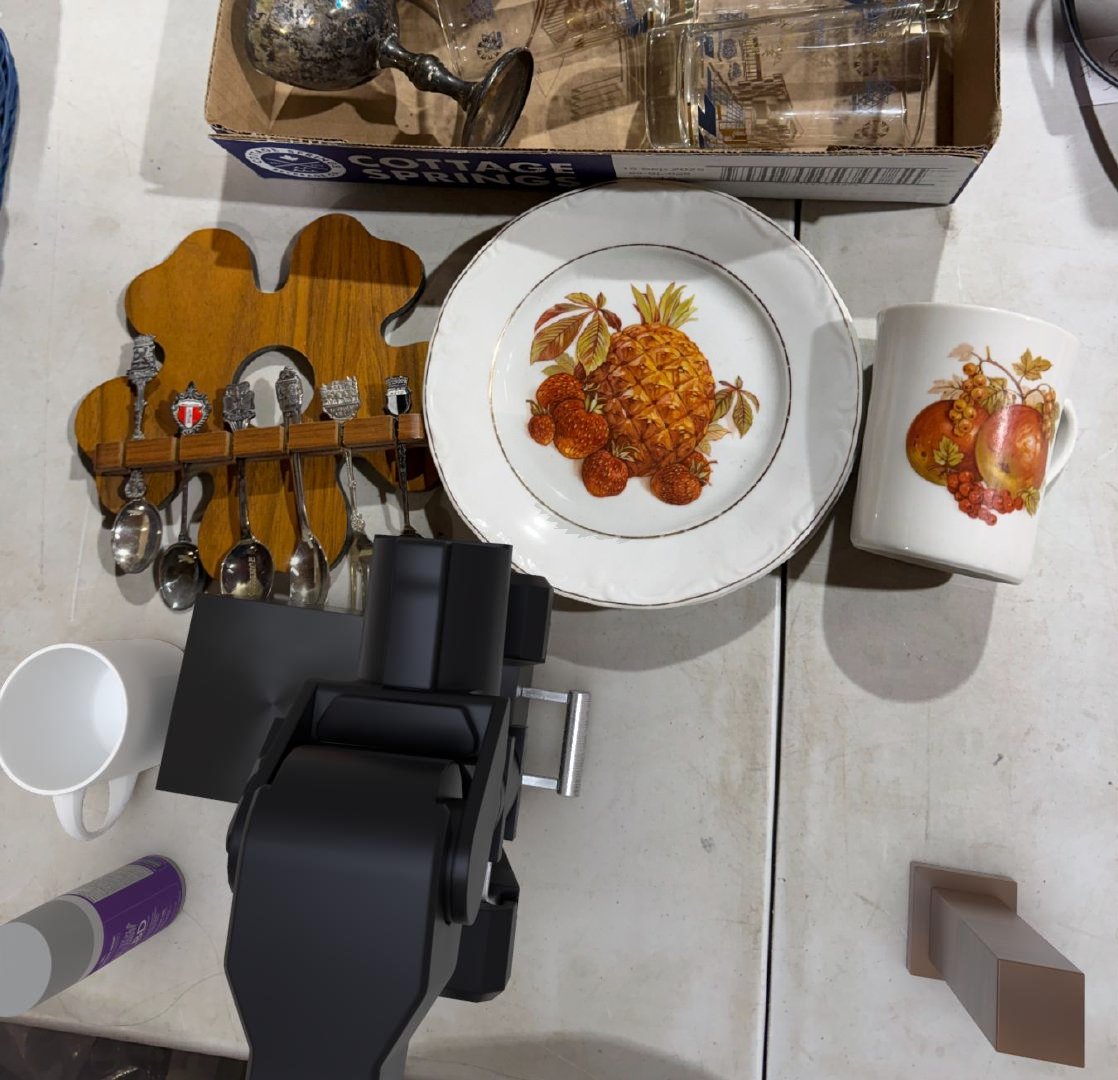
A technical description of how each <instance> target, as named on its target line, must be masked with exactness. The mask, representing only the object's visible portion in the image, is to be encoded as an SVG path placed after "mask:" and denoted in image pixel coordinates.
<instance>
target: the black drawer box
mask: <svg viewBox="0 0 1118 1080" xmlns="http://www.w3.org/2000/svg"><path fill="white" fill-rule="evenodd" d="M250 595H251V594H246V595H243V593H242V594H240V593H217V592H216V593H215V592H211V593H210V592H196V595H195V598H194V605H193V609H192V612H191V613H192V614H191V618H190V622H189V627H188V631H187V632H188V633H187V637H186V642H185V646H184V651H183V652H184V655H183V660H182V665H181V670H180V674H179V679H178V684H177V688H176V693H175V698H174V703H173V707H172V712H171V717H170V721H169V726H168V731H167V736H166V740H165V745H164V750H163V754H162V759H161V764H159V769H158V772H157V778H156V782H155V789H154V790H156V791H161V792H167V793H172V794H176V795H177V794H178V795H182V796H183V795H184V796H190V797H196V798H202V799H206V800H207V799H208V800H213V801H217V802H218V801H219V802H225V803H230V804H236V805H238V803H239V801H240V798H241V796H242V794H243V791H244V789H245V787H246V784H247V782H248V780H249V777H250V775H251V773H252V770H253V768H254V766H255V763H256V761H257V759H258V756H259V754H260V752H261V749H262V747H263V745H264V742H265V740H266V738H267V735H268V733H269V731H270V728H271V726H272V724H273V721H274V719H275V717H279V718H283V717H284V714H285V712H286V710H287V708H288V707H289V706H290V705H291V704H292V703H294V702H295V700H296V698H297V696H298V694H299V692H300V690H301V688H302V686H303V685H304V683H305V681H306V679H307V678H313V679H324V680H334V681H345V682H349V681H354V680H356V677H357V669H358V661H359V653H360V644H361V636H362V628H363V620H364V612H365V609H356V608H350V607H349V608H348V607H343V606H342V607H341V606H335V605H327V604H321V603H314V604H307V603H308V602H307V603H300V602H301V601H300V602H294V601H295V600H293V599H284V598H277V597H272V596H265V595H256V594H252V595H253V596H250ZM259 596H260V597H259ZM315 604H317V605H315Z"/></svg>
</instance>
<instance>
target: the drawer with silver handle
mask: <svg viewBox="0 0 1118 1080" xmlns="http://www.w3.org/2000/svg"><path fill="white" fill-rule="evenodd" d="M534 668H535V665H531V666H526V667H513V666H505V665H502V675H501V686H500V696H502V697H510V715H509V724H516V725H523V726H527V722H528V716H529V707H530V700H531V699H533V700H537V701H545V702H552V703H558V704H564V705H565V704H566V710H565V719H564V726H563V735H562V743H561V753H560V759H559V768H558V777H552V776H545V775H539V774H532V773H527V772H523V779H522V786H528V787H532V788H538V789H545V790H552V791H556V795H558V796H561V797H565V798H579V797H580V794H581V786H582V785H581V784H582V776H583V775H582V774H583V767H584V759H585V751H586V742H587V734H588V733H587V731H588V724H589V714H590V709H591V708H590V705H591V697H592V693H590V692H589V691H584V690H578V689H569V690H568V692H564V691H557V690H551V689H545V688H537V687H532V685H533V677H534Z"/></svg>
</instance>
